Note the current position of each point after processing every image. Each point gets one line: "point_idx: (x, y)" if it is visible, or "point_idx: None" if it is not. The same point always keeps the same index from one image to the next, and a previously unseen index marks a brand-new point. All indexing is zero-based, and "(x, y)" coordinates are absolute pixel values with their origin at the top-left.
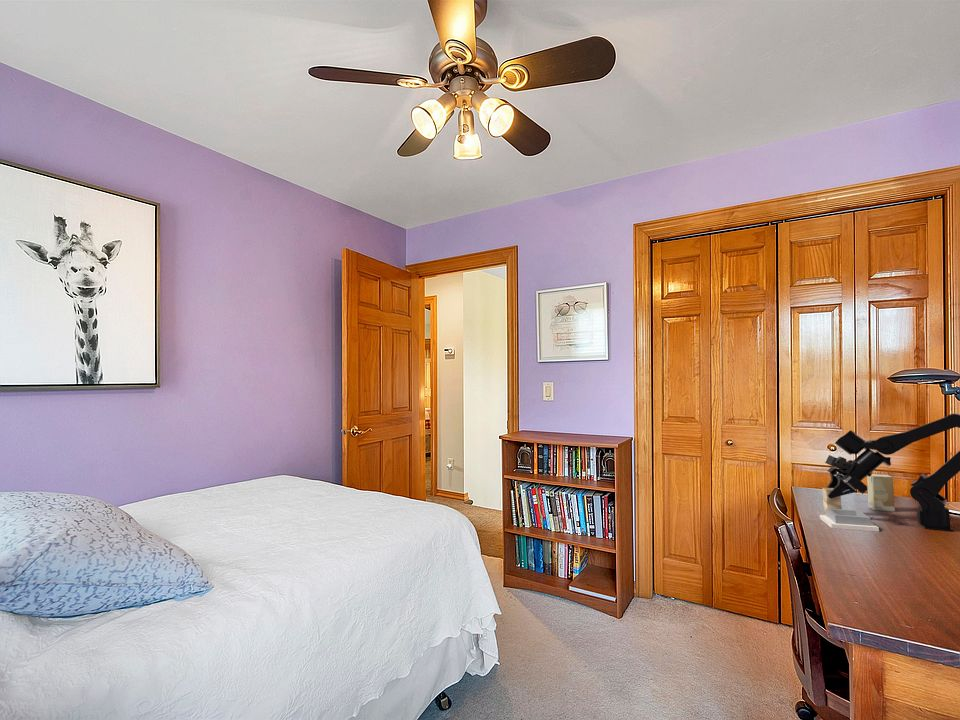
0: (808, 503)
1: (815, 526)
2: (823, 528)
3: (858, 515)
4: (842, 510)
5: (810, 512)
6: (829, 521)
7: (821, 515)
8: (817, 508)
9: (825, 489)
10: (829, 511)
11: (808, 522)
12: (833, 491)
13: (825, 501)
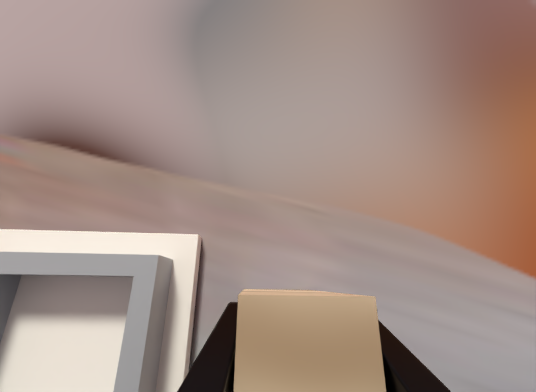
0: (527, 279)
1: (42, 172)
2: (7, 194)
3: None
4: (121, 355)
5: (315, 229)
6: (49, 236)
7: (179, 237)
8: (424, 292)
9: (272, 298)
10: (82, 253)
11: (112, 164)
12: (195, 366)
13: (277, 291)
